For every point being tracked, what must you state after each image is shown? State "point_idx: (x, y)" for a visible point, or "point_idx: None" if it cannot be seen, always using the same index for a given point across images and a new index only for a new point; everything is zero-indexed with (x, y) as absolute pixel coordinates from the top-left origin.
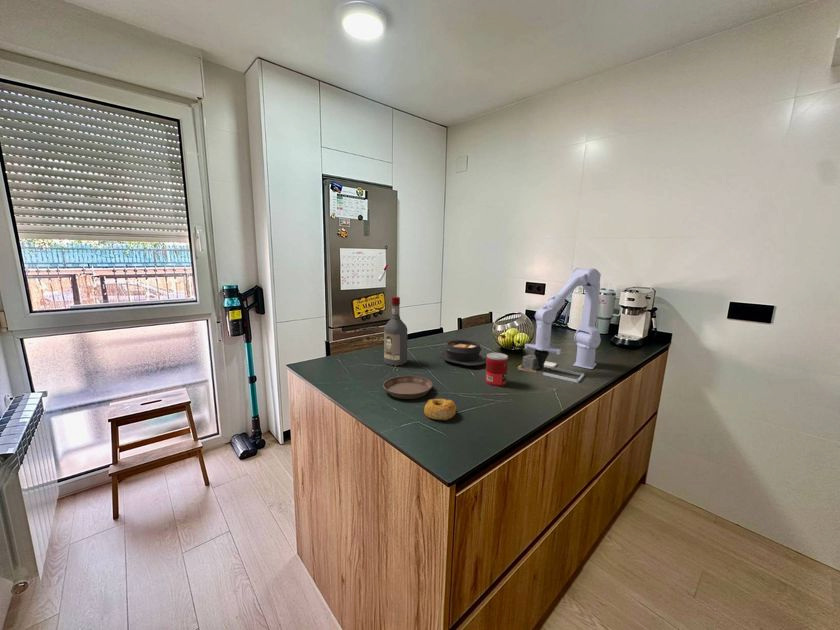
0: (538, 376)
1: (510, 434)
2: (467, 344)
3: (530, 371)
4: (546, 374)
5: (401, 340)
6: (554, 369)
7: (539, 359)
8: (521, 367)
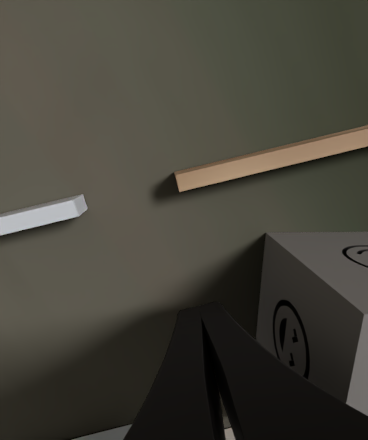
0: (84, 92)
1: None
2: None
3: (248, 155)
4: (35, 207)
5: None
6: (115, 434)
7: (236, 391)
8: None
